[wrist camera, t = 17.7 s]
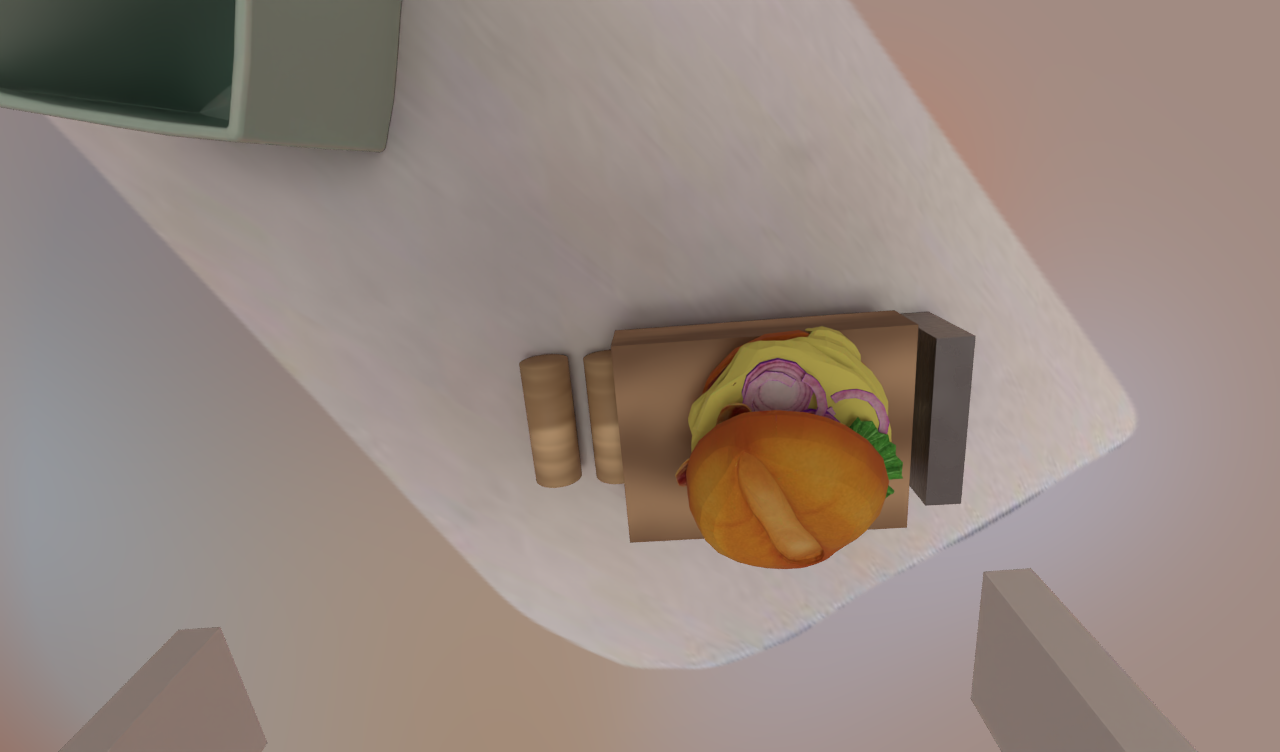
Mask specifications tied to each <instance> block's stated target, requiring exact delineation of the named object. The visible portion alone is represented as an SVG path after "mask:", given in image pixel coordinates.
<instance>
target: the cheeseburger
mask: <svg viewBox="0 0 1280 752" xmlns="http://www.w3.org/2000/svg"><path fill="white" fill-rule="evenodd" d="M805 330H806V331H807V332H810V333H807V332H804V331H800V330H795V331H787V332H778V333H769V334H764V335H762V336H760V337H758V338H756V339H754V340H752V341H750V342H748V343H745V344H743V345H741V346H739V347H737V348H735V349H734V350H733V351H732V352H731V353H730V354H729V355H728V356H727V357H726V358H725V359H724V360H723V361H722V362H721V363H720V364H719V365H718V366H717V367H716V368H715V369H714V370H713V371H712V372H711V374H710V375H709V377H708V379H707V381H706V384H705V387H704V390H703V393H702V395H701V396H700V397H699V398H698V399H697V400H696V401H695V402H694V403H693V404H692V406H691V410H690V413H689V417H688V422H689V427H690V430H691V433H692V441H691V455H690V458H689V459H687V460H686V461H685V462H684V463H683V464H682V465H681V466H680V468H679V469H678V470H677V472H676V475H675V476H676V480H677V483H678V485H679V486H682V487H685V486H687V494H688V501H689V507H690V511H691V513H692V515H693V517H694V520H695V522H696V524H697V526H698V528H699V530H700V532H701V533H702V535H703V537H704V538H705V540H706V541H707V542H708V543H709V544H710V545H711V546H712V547H713V548H714V549H715V550H716V551H717V552H718V553H720V554H722V555H724V556H726V557H728V558H731V559H733V560H735V561H737V562H740V563H744V564H748V565H752V566H757V567H764V568H775V569H793V568H803V567H808V566H811V565H814V564H817V563H820V562H822V561H824V560H826V559H828V558H829V557H830V556H832V555H833V554H834V553H835V552H836V551H838V550H839V549H841V548H843V547H844V546H846V545H847V544H849V543H851V542H852V541H854V540H856V539H857V538H858V537H859V536H861V535H862V534H863V533H864V532H865V531H866V530H867V529H868V528H869V527H870V526H871V524H872V523H873V522H874V521H875V520H876V518H877V517H878V516H879V515H880V512H881V509H882V507H883V504H884V501H885V499H886V498H887V497H888V496H889V495H891V494H893V493H894V490H893V489H892V488H891V487H890V486H889V480H892V479H903V476H902V468H903V462H902V461H901V460H900V459H899V458H898V457H897V456H896V445H895V444H893V443H892V442H891V427H890V423H889V419H888V400H887V397H886V395H885V392H884V390H883V387H882V385H881V384H880V382H879V381H878V379H877V378H876V377H875V375H874V374H873V372H872V371H871V370H870V369H869V368H868V367H866V366H865V364H864V363H862V362H861V354H860V353H859V351H858V349H857V348H856V346H855V344H853V343H852V342H851V341H850V340H849V339H848V338H846V337H845V336H844V335H843V334H842V333H841V332H840V331H837V330H833V329H830V328H827V327H823V326H820V327H816V328H807V329H805Z"/></svg>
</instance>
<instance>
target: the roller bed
mask: <svg viewBox="0 0 1280 752" xmlns="http://www.w3.org/2000/svg"><path fill="white" fill-rule="evenodd" d="M583 360H584V369H585V378H586V387H587V395H588V404H589V413H590V422H591V430H592V439H593V448H594V457H595V466H596V474H597V478H598V479H599V480H600V481H602V482H604V483H609V484H622V483H624V475H623V465H622V454H621V444H620V434H619V424H618V414H617V404H616V394H615V384H614V374H613V364H612V354H611V350H604V351H598V352H594V353H591V354H588V355H586V356H585V357H584V358H583ZM519 366H520V373H521V379H522V386H523V393H524V400H525V406H526V413H527V420H528V427H529V434H530V440H531V447H532V454H533V461H534V468H535V474H536V481H537V483H538V484H539V485H541V486H544V487H549V488H557V487H564V486H567V485H570V484H573V483H575V482H576V481H578V480H579V479H580V478H581V476H582V471H581V463H580V455H579V447H578V438H577V430H576V422H575V414H574V405H573V397H572V389H571V381H570V373H569V364H568V358H567V357H566V356H564V355H559V354H546V355H538V356H534V357H530V358H527V359H525V360H523V361H521V362H520V363H519Z"/></svg>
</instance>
